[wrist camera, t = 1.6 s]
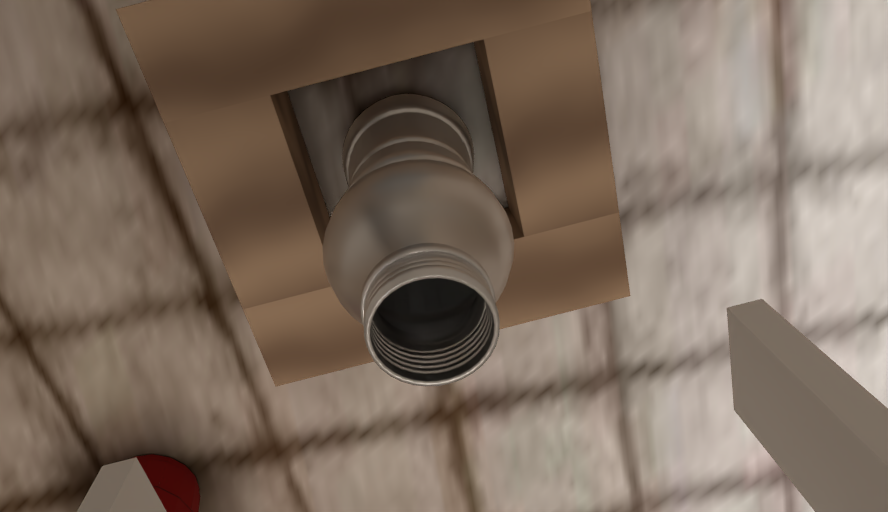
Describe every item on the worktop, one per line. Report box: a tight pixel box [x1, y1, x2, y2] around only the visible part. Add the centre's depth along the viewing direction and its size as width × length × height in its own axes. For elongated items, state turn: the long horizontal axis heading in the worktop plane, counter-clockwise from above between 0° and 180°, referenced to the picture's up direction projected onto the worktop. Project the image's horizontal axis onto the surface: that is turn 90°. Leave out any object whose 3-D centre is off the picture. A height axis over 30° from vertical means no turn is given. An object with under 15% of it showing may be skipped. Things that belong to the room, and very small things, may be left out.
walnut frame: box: [116, 0, 630, 386], centre depth 34 cm, size 20×20×4 cm
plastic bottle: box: [322, 94, 514, 386], centre depth 27 cm, size 6×7×20 cm
